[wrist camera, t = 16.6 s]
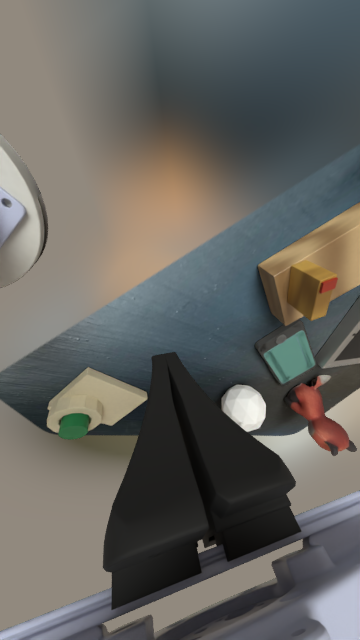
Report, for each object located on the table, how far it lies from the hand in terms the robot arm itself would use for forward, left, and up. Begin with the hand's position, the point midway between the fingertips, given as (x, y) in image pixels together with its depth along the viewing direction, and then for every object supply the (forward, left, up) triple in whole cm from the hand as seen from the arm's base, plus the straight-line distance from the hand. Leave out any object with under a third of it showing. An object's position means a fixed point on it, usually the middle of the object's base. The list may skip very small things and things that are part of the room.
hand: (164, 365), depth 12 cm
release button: (+6, -19, -8) cm, 21 cm away
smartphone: (+26, +7, -11) cm, 29 cm away
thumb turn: (+9, +12, -7) cm, 17 cm away
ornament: (+26, -4, -11) cm, 28 cm away
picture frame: (+35, +23, -11) cm, 43 cm away
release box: (+8, -17, -10) cm, 21 cm away
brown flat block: (+12, +15, -10) cm, 22 cm away
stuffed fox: (+41, +6, -11) cm, 43 cm away
